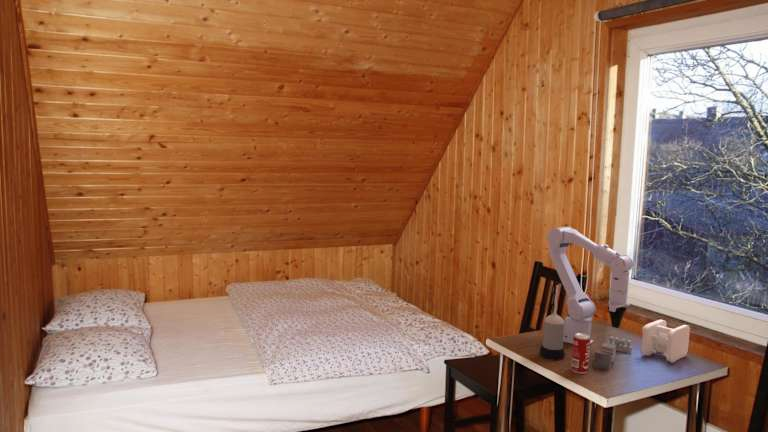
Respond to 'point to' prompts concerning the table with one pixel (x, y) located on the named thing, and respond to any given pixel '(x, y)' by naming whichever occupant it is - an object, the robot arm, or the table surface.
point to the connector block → (603, 359)
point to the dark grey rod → (616, 346)
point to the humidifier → (553, 335)
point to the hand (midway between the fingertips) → (615, 327)
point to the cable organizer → (665, 340)
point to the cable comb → (621, 345)
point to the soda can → (580, 353)
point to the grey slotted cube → (609, 349)
